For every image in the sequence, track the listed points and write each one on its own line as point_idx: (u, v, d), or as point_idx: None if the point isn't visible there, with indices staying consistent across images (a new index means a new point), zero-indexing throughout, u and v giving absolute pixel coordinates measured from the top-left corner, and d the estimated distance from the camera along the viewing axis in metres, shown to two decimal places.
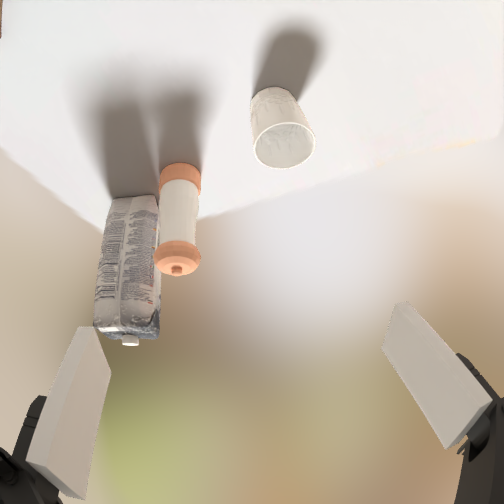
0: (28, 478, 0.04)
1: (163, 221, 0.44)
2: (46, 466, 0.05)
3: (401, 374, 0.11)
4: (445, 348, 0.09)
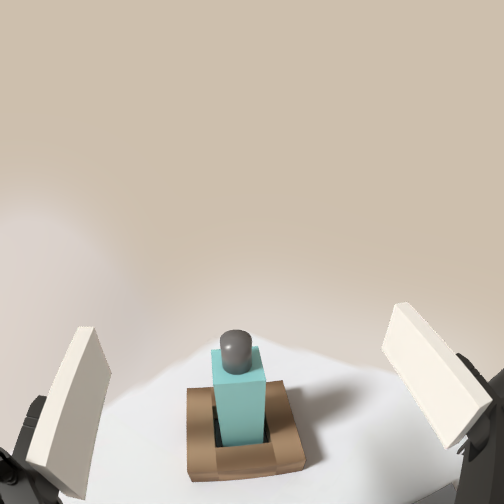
0: (28, 478, 0.04)
1: None
2: (46, 466, 0.05)
3: (401, 374, 0.11)
4: (445, 348, 0.09)
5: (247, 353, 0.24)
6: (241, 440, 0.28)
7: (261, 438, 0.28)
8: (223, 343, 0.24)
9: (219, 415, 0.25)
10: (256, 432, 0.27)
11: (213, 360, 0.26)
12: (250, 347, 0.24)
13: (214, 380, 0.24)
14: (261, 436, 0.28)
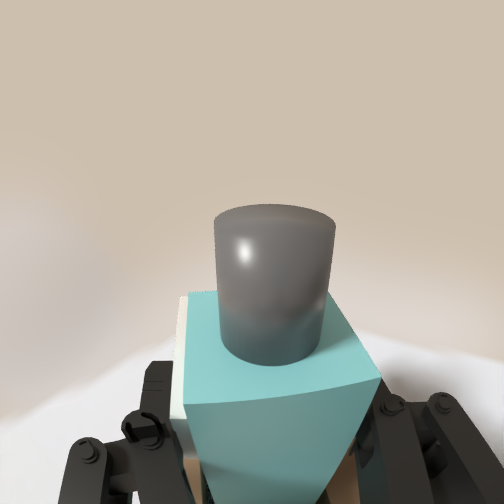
0: (173, 446, 0.07)
1: None
2: None
3: None
4: None
5: (323, 270, 0.06)
6: None
7: None
8: (229, 229, 0.06)
9: (212, 483, 0.07)
10: (303, 500, 0.09)
11: (192, 319, 0.08)
12: (332, 249, 0.06)
13: (189, 387, 0.06)
14: None
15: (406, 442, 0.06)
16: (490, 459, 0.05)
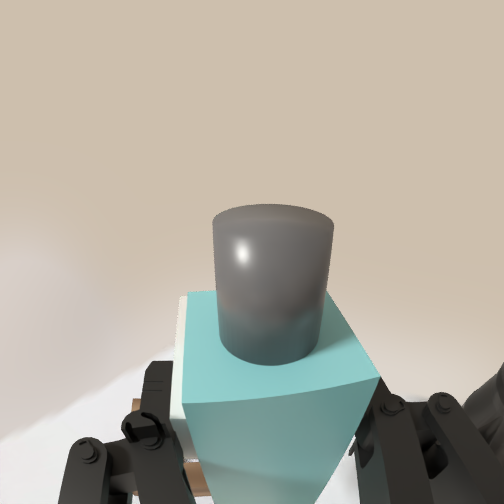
0: (173, 446, 0.07)
1: None
2: None
3: None
4: None
5: (321, 269, 0.06)
6: None
7: None
8: (228, 229, 0.06)
9: (211, 482, 0.07)
10: (303, 500, 0.10)
11: (191, 319, 0.08)
12: (330, 249, 0.06)
13: (187, 386, 0.06)
14: None
15: (406, 442, 0.06)
16: (490, 458, 0.05)
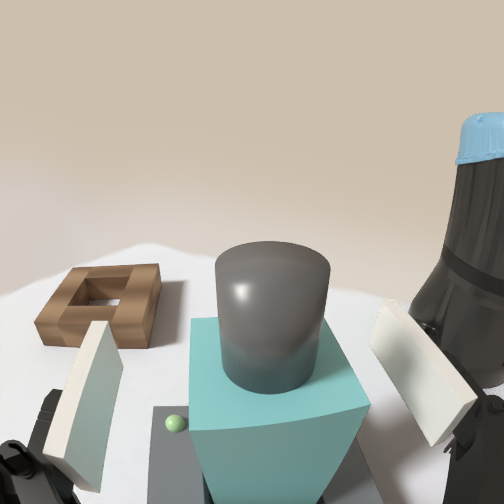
0: (45, 472, 0.05)
1: None
2: (64, 458, 0.05)
3: (388, 370, 0.12)
4: (430, 345, 0.10)
5: (317, 311, 0.06)
6: None
7: None
8: (229, 275, 0.06)
9: (214, 493, 0.08)
10: None
11: (195, 347, 0.08)
12: (326, 291, 0.07)
13: (194, 414, 0.06)
14: None
15: (500, 438, 0.05)
16: None
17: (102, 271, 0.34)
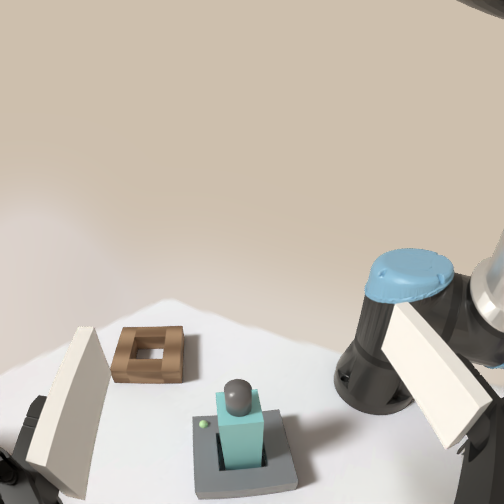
0: (28, 478, 0.04)
1: None
2: (46, 466, 0.05)
3: (401, 374, 0.11)
4: (445, 348, 0.09)
5: (247, 400, 0.26)
6: (242, 464, 0.30)
7: (259, 463, 0.30)
8: (227, 393, 0.26)
9: (223, 447, 0.27)
10: (255, 458, 0.29)
11: (218, 403, 0.28)
12: (250, 395, 0.26)
13: (219, 421, 0.26)
14: (259, 461, 0.30)
15: None
16: None
17: (145, 331, 0.53)
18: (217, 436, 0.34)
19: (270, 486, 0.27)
